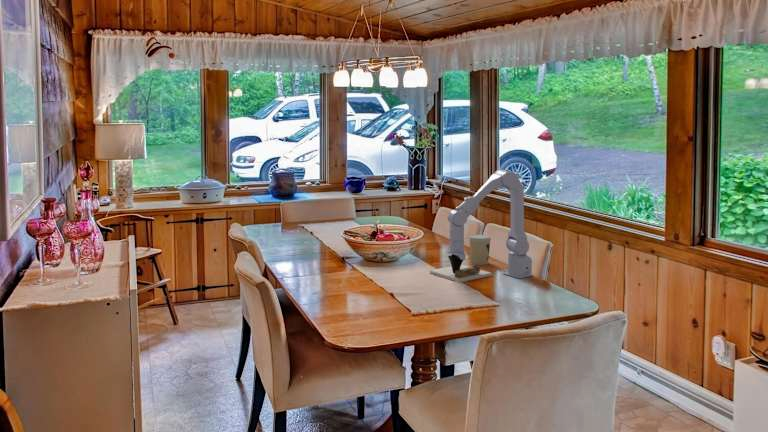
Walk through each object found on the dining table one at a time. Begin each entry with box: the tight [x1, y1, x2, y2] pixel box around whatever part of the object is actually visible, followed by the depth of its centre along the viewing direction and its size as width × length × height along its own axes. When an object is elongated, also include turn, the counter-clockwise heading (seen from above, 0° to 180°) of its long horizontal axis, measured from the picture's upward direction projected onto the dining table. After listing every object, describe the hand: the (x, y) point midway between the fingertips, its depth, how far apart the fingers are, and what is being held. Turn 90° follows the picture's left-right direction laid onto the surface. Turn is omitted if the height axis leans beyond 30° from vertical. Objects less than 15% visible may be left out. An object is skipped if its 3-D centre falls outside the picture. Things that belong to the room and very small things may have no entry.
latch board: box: [428, 263, 492, 283], centre depth 282 cm, size 18×18×1 cm
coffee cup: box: [468, 234, 491, 266], centre depth 301 cm, size 9×9×12 cm
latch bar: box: [455, 264, 481, 278], centre depth 275 cm, size 12×2×3 cm, turn 131°
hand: (455, 273), depth 275 cm, fingers closed
